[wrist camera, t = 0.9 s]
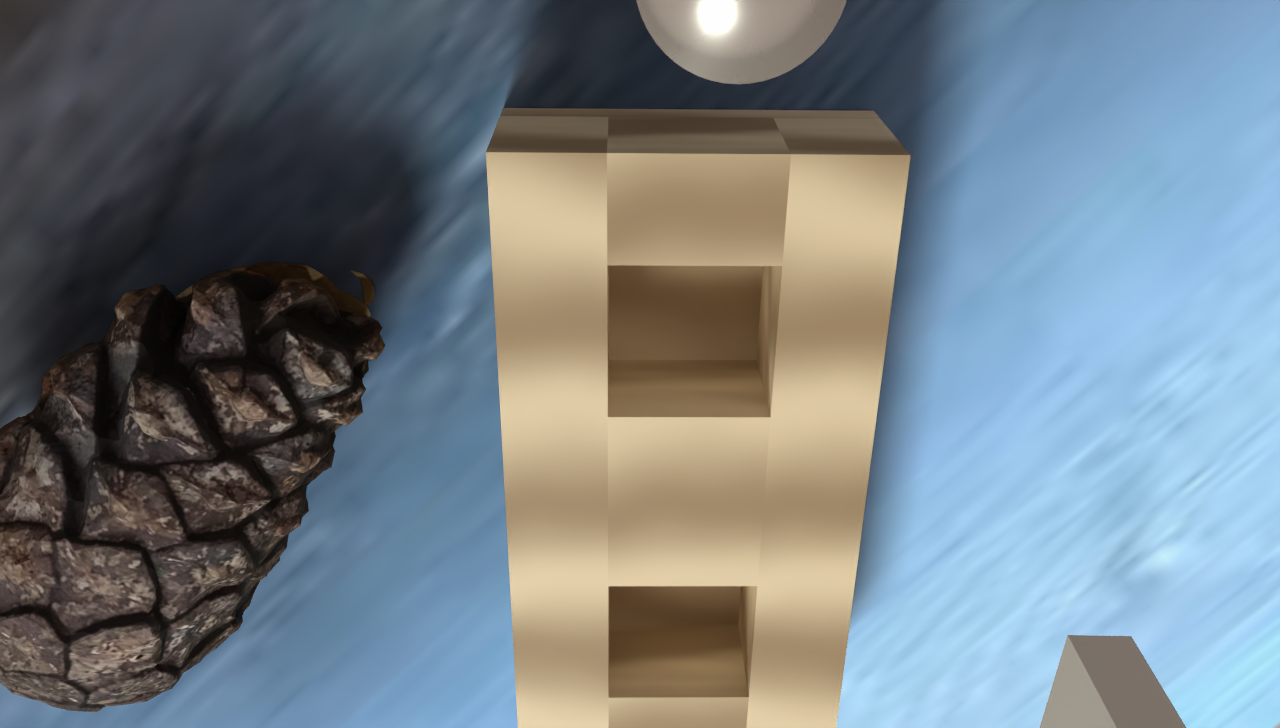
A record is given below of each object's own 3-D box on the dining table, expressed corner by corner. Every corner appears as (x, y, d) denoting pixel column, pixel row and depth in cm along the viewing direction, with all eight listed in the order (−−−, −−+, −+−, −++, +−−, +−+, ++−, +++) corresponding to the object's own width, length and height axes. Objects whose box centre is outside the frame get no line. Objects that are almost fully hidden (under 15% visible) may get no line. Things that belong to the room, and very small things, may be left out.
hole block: (503, 108, 35) (485, 152, 30) (873, 111, 35) (910, 155, 30) (529, 671, 46) (520, 764, 41) (811, 670, 46) (831, 762, 41)
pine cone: (441, 288, 38) (386, 437, 29) (229, 618, 44) (130, 822, 35) (160, 124, 35) (2, 233, 26) (-22, 503, 41) (-197, 693, 33)
